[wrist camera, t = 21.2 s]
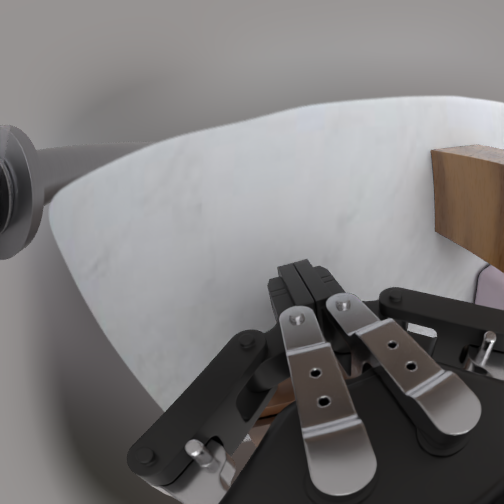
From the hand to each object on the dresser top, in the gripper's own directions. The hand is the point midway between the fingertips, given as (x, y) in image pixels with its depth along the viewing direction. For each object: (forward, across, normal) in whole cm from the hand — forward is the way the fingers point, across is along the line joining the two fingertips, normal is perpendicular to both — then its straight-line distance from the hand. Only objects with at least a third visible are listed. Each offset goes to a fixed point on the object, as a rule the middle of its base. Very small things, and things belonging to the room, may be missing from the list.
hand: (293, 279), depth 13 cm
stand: (+8, -20, 0) cm, 22 cm away
